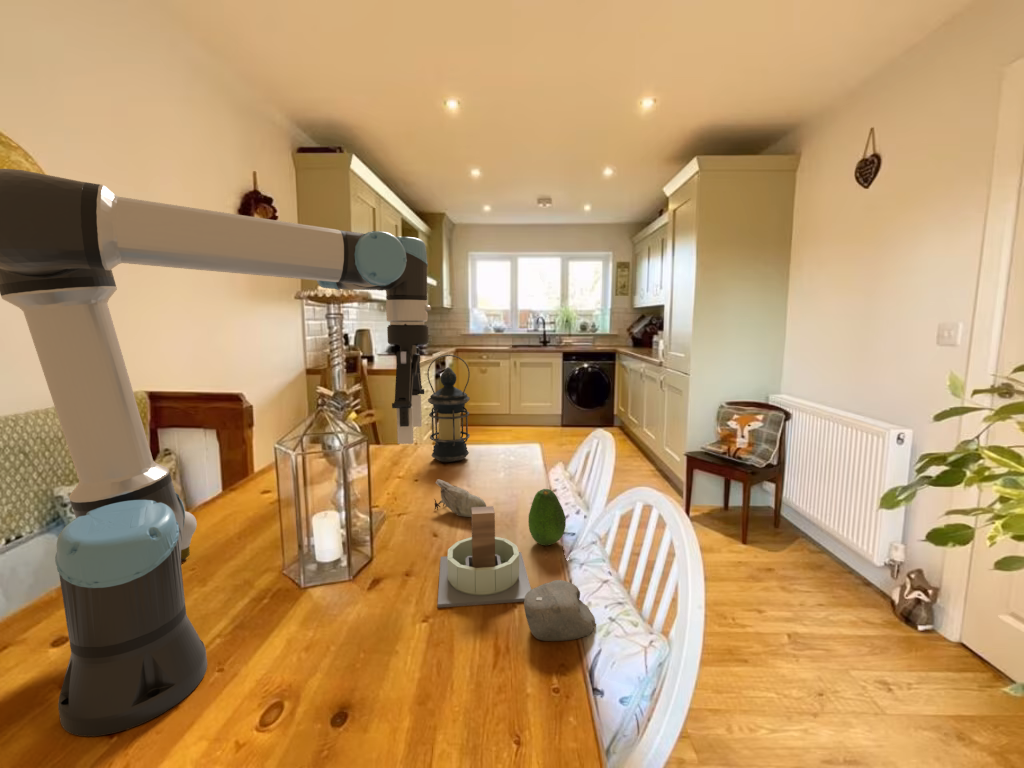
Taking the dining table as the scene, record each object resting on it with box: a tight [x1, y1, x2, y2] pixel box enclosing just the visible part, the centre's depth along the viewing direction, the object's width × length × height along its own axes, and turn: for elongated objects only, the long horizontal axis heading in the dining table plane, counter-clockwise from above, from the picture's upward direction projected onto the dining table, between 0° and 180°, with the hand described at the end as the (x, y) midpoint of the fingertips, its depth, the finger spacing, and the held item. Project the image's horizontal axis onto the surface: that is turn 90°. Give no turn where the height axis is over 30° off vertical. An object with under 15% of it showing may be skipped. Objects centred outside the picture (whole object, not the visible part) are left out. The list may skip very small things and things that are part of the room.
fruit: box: [528, 488, 567, 546], centre depth 101 cm, size 8×8×12 cm
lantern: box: [426, 354, 471, 463], centre depth 159 cm, size 14×13×35 cm
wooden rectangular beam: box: [470, 505, 496, 568], centre depth 88 cm, size 3×4×12 cm
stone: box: [523, 579, 597, 642], centre depth 75 cm, size 9×9×10 cm
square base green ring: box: [437, 536, 532, 608], centre depth 88 cm, size 16×16×5 cm
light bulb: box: [181, 510, 198, 562], centre depth 95 cm, size 6×6×10 cm
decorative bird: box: [433, 478, 488, 518], centre depth 117 cm, size 5×16×7 cm, turn 51°
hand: (410, 434), depth 94 cm, fingers open, 13 cm apart
